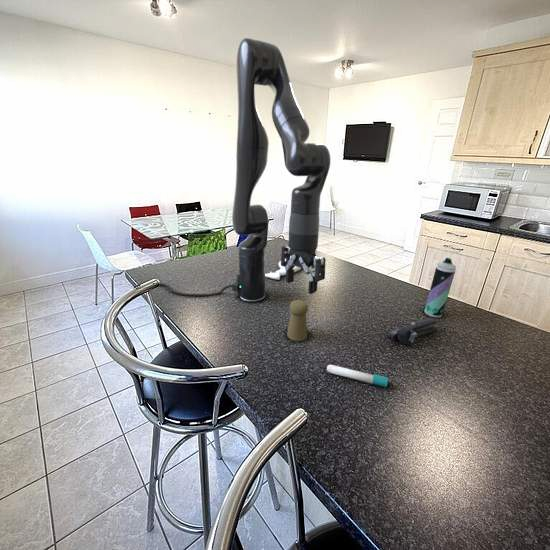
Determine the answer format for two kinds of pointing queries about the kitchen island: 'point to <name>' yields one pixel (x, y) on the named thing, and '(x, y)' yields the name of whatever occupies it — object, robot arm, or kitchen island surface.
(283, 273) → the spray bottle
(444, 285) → the spray can
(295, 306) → the cork
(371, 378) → the marker
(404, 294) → the kitchen island surface
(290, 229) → the robot arm
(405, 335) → the can opener
